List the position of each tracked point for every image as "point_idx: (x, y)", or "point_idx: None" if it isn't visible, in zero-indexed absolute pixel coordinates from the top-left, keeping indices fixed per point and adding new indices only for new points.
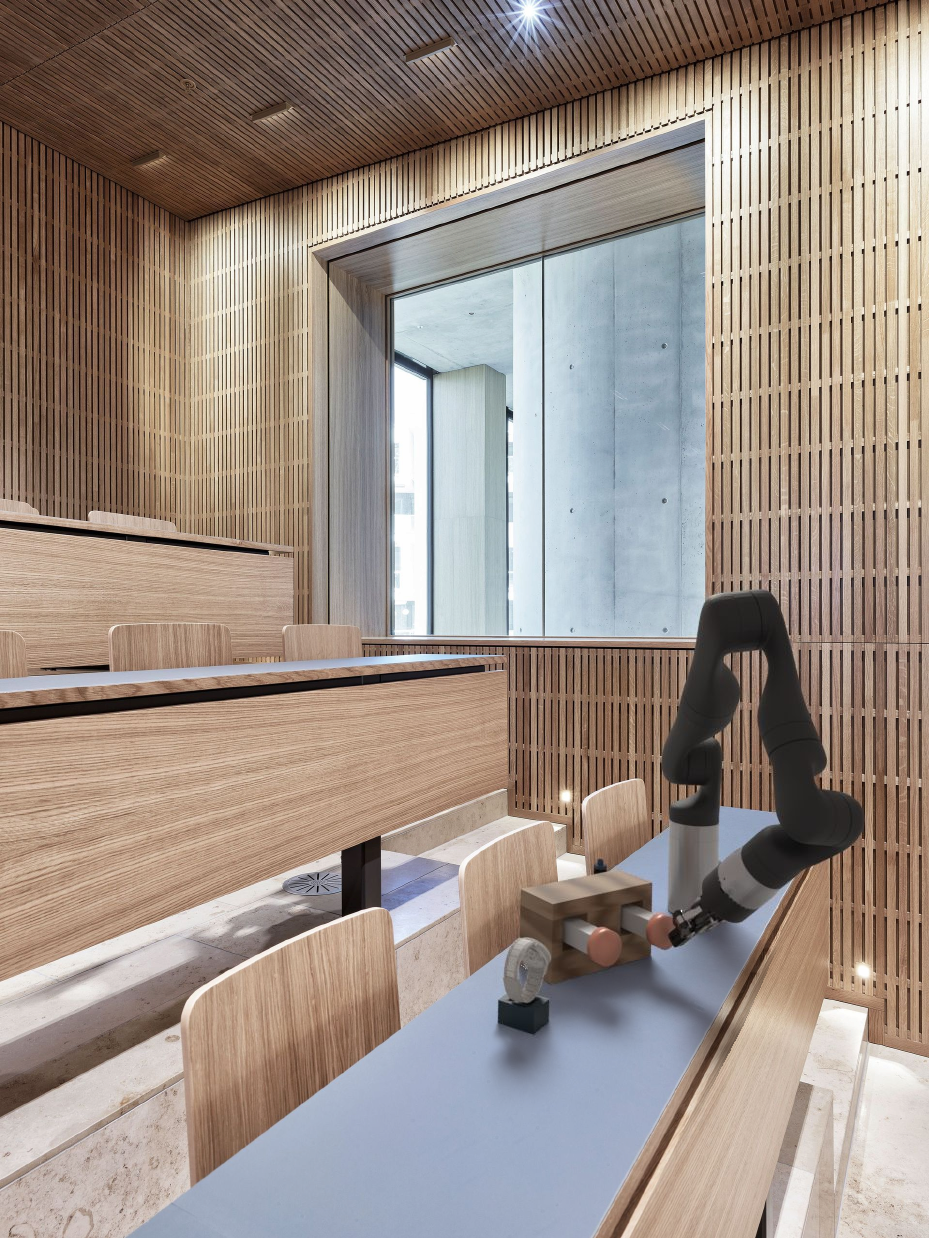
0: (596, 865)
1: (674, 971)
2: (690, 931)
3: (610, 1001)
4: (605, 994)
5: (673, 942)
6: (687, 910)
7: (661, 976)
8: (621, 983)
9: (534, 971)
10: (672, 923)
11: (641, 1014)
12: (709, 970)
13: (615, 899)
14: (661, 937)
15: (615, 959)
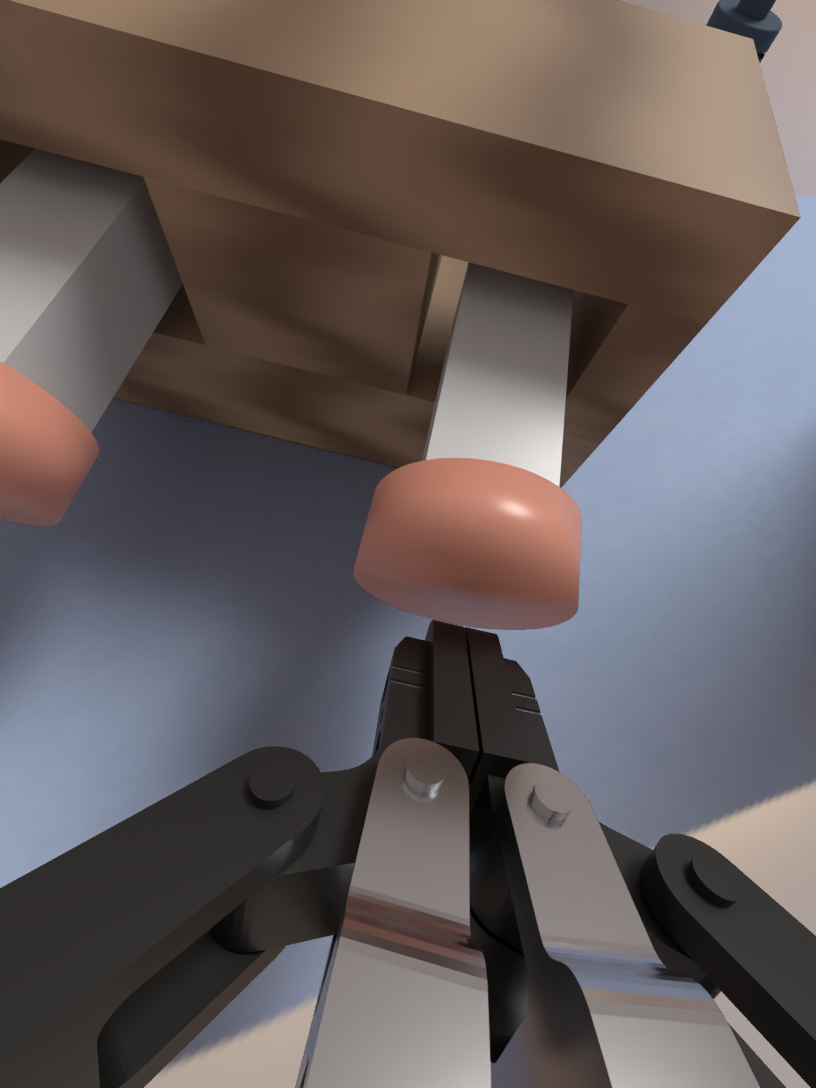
0: (724, 5)
1: (506, 632)
2: (330, 953)
3: (67, 598)
4: (118, 552)
5: (382, 695)
6: (316, 1054)
7: (426, 619)
8: (254, 545)
9: None
10: (531, 591)
11: (17, 761)
12: (632, 730)
13: (388, 190)
14: (408, 589)
15: (39, 520)
